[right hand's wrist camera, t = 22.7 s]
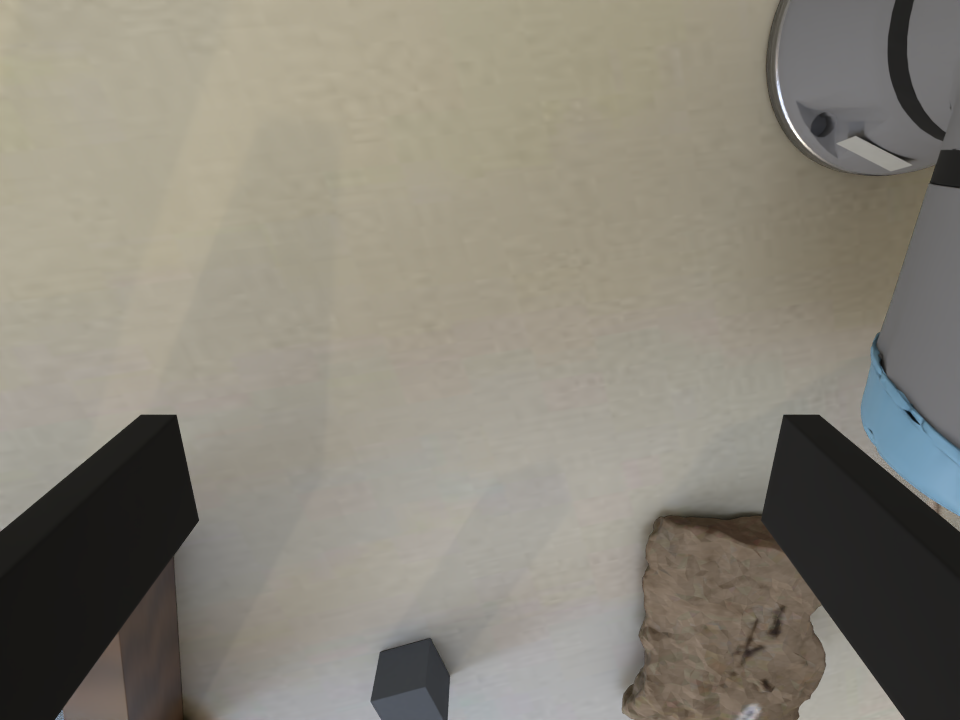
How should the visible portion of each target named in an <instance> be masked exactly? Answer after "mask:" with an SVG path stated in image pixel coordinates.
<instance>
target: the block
mask: <svg viewBox="0 0 960 720" xmlns="http://www.w3.org/2000/svg"><path fill="white" fill-rule="evenodd" d="M449 684H450V675H449V673H448V671H447V669H446V667H445V665H444V664H443V662H442V660H441V658H440V656H439V654H438V652H437V650H436V648H435V646H434V644H433V643H432V641H431V639H430V638H429V639H426V640H422V641H419V642H415V643H411V644H408V645H404V646H401V647H397V648H393V649H390V650H386V651H383V652H380V655H379V660H378V665H377V671H376V676H375V681H374V686H373V691H372V697H371V703H372V705H373V707H374V708H375V710H376V712H377V713H378V715H379V717H380V718H381V720H448V702H449Z"/></svg>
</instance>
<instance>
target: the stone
mask: <svg viewBox="0 0 960 720" xmlns="http://www.w3.org/2000/svg"><path fill="white" fill-rule="evenodd" d="M761 518H762V516H756V515H754V516H751V517H746V516H745V517H739V518H735V519H730V520H721V519H716V518H697V517H686V518H683V517H680V516H666V517H659V518H658V519H656V521H655V523H654V531H653V532H652V534H651V535H650V536H649V540H648V543H647V545H646V559H647V562H648V564H649V566H648V568H647V569H646V571H645V575H644V576H643V578H642V583H643V585H642V586H643V591H644V608H645V610H646V616H645V620H644V621H643V625H642V627H641V629H640V632H639V637H640V640H641V642H642V645H643V647H644V648H645V664H644V667H643V668H642V669H641V670H640V673H639V674H638V675H637V677H636V678H635V681H634V684H633V685H631V686H629V688H628V689H627V690H626V691H625V693H624V694H623V701H622V713H623V714H625V715H627V716H628V717H630V718H631V719H634V720H797V719H798V718H799V713H798V710H799V706H800V705H801V704H802V703H803V702H804V701H805V700H808V699H810V697H811V694H812V693H813V692H814V690H815V689H816V688H817V686H818V684H819V682H820V680H821V678H822V675H823V673H824V670H825V667H826V663H825V652H824V649H823V646H822V643H821V642H820V640H819V639H818V637H817V636H816V635H815V633H814V631H813V625H812V624H811V622H810V615H811V614H812V613H813V612H814V611H815V610H816V609H817V608H818V607H819V606H821V605H822V604H821V603H820V601H819V600H818V599H817V597H816V596H815V594H814V593H813V592H812V590H811V589H810V588H809V586H808V585H807V583H806V582H805V581H804V579H803V578H802V577H801V575H800V574H799V572H798V571H797V570H796V568H795V567H794V565H793V564H792V563H791V561H790V560H789V559H788V557H787V556H786V554H785V553H784V552H783V550H782V549H781V548H780V546H779V545H778V543H777V542H776V541H775V539H774V538H773V536H772V535H771V534H770V532H769V531H768V530H767V528H766V527H765V525H764V524H763V523H762V521H761Z"/></svg>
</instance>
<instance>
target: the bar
mask: <svg viewBox="0 0 960 720" xmlns="http://www.w3.org/2000/svg"><path fill="white" fill-rule="evenodd" d="M62 710H63V716H64V720H183V706H182V690H181V674H180V657H179V641H178V625H177V609H176V592H175V576H174V560H173V557H172V559H171V560H170V561H169V563H168V564H167V565H166V567H165V568H164V570H163V571H162V572H161V574H160V575H159V577H158V578H157V579H156V581H155V582H154V583H153V585H152V586H151V588H150V589H149V590H148V592H147V593H146V594H145V596H144V597H143V599H142V600H141V601H140V603H139V604H138V606H137V607H136V608H135V610H134V611H133V612H132V614H131V615H130V617H129V618H128V619H127V621H126V622H125V623H124V625H123V626H122V628H121V629H120V630H119V632H118V633H117V635H116V636H115V637H114V639H113V640H112V641H111V643H110V644H109V646H108V647H107V648H106V650H105V651H104V652H103V654H102V655H101V657H100V658H99V659H98V661H97V662H96V664H95V665H94V666H93V668H92V669H91V670H90V672H89V673H88V675H87V676H86V677H85V679H84V680H83V681H82V683H81V684H80V686H79V687H78V688H77V690H76V691H75V693H74V694H73V695H72V697H71V698H70V699H69V701H68V702H67V704H66V705H65V706H64V708H63V709H62Z"/></svg>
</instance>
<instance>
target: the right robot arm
mask: <svg viewBox="0 0 960 720" xmlns="http://www.w3.org/2000/svg"><path fill="white" fill-rule="evenodd" d="M766 71H767V84H768V90H769V96H770V100H771V104H772V107H773V110H774V112H775V115H776V118H777V120H778V122H779V124H780V126H781V128H782V129H783V131H784V132H785V134H786V135H787V137H788V138H789V139H790V141H791V142H792V143H793V144H794V145H795V146H796V147H797V148H798V149H799V150H800V151H801V152H802V153H803V154H805V155H806V156H807V157H809V158H810V159H812V160H813V161H815V162H817V163H819V164H820V165H823V166H825V167H827V168H830V169H833V170H836V171H840V172H845V173H851V174H859V175H870V176H885V175H895V174H901V173H907V172H913V171H917V170H921V169H924V168H927V167H930V166H933V165H936V166H935V169H934V172H933V175H932V179H931V181H930V183H929V185H928V188H927V191H926V194H925V197H924V200H923V203H922V206H921V210H920V213H919V216H918V219H917V222H916V225H915V228H914V231H913V234H912V238H911V241H910V244H909V247H908V250H907V253H906V256H905V259H904V262H903V266H902V269H901V272H900V275H899V278H898V281H897V284H896V287H895V290H894V294H893V297H892V300H891V303H890V306H889V309H888V311H887V314H886V317H885V320H884V323H883V326H882V329H881V332H879V333H877V335H876V337H875V339H874V341H873V344H872V347H871V366H870V371H869V375H868V379H867V383H866V387H865V391H864V394H863V398H862V403H861V419H862V423H863V427H864V429H865V431H866V433H867V435H868V437H869V439H870V440H871V442H872V443H873V444H874V445H875V446H876V448H877V451H878V453H879V454H880V455H881V457H882V458H883V459H884V460H885V461H886V462H887V463H888V464H889V465H890V466H891V467H892V468H893V469H894V470H895V471H896V472H897V473H898V474H899V475H900V476H901V477H903V478H904V479H905V480H906V481H908V482H909V483H910V484H911V485H912V486H914V487H915V488H916V489H918V490H919V491H920V492H922V493H923V494H925V495H926V496H927V497H929V498H930V499H932V500H934V501H935V502H937V503H938V504H940V505H942V506H943V507H945V508H946V509H948V510H950V511H951V512H953V513H955V514H957V515H958V516H960V0H780V3H779V6H778V8H777V11H776V13H775V17H774V20H773V24H772V27H771V32H770V37H769V42H768V50H767V66H766ZM198 521H199V518H198V513H197V509H196V504H195V499H194V495H193V490H192V485H191V481H190V476H189V471H188V466H187V462H186V457H185V452H184V448H183V443H182V438H181V434H180V429H179V424H178V420H177V415H140V416H139V417H138V418H137V419H135V420H134V421H133V422H132V423H131V424H129V425H128V426H127V427H126V428H125V429H123V430H122V431H121V432H120V433H119V434H117V435H116V436H115V437H114V438H112V439H111V440H110V441H109V442H108V443H106V444H105V445H104V446H103V447H102V448H100V449H99V450H98V451H97V452H96V453H94V454H93V455H92V456H91V457H90V458H88V459H87V460H86V461H85V462H84V463H82V464H81V465H80V466H79V467H78V468H76V469H75V470H74V471H73V472H72V473H70V474H69V475H68V476H67V477H66V478H64V479H63V480H62V481H61V482H60V483H58V484H57V485H56V486H55V487H54V488H52V489H51V490H50V491H49V492H48V493H46V494H45V495H44V496H43V497H42V498H40V499H39V500H38V501H37V502H36V503H34V504H33V505H32V506H31V507H30V508H28V509H27V510H26V511H25V512H24V513H22V514H21V515H20V516H19V517H18V518H16V519H15V520H14V521H13V522H12V523H10V524H9V525H8V526H7V527H6V528H4V529H3V530H2V531H1V532H0V720H55V719H56V717H57V716H58V715H59V713H60V712H61V710H62V709H63V708H64V706H65V705H66V704H67V702H68V701H69V699H70V698H71V697H72V695H73V694H74V693H75V691H76V690H77V688H78V687H79V686H80V684H81V683H82V681H83V680H84V679H85V677H86V676H87V675H88V673H89V672H90V670H91V669H92V668H93V666H94V665H95V664H96V662H97V661H98V659H99V658H100V657H101V655H102V654H103V652H104V651H105V650H106V648H107V647H108V646H109V644H110V643H111V641H112V640H113V639H114V637H115V636H116V635H117V633H118V632H119V630H120V629H121V628H122V626H123V625H124V623H125V622H126V621H127V619H128V618H129V617H130V615H131V614H132V612H133V611H134V610H135V608H136V607H137V606H138V604H139V603H140V601H141V600H142V599H143V597H144V596H145V594H146V593H147V592H148V590H149V589H150V588H151V586H152V585H153V583H154V582H155V581H156V579H157V578H158V577H159V575H160V574H161V572H162V571H163V570H164V568H165V567H166V565H167V564H168V563H169V561H170V560H171V559H172V557H173V556H174V554H175V553H176V552H177V550H178V549H179V548H180V546H181V545H182V543H183V542H184V541H185V539H186V538H187V536H188V535H189V534H190V532H191V531H192V530H193V528H194V527H195V525H196V524H197V523H198ZM761 521H762V523H763V524H764V525H765V527H766V528H767V530H768V531H769V532H770V534H771V535H772V536H773V538H774V539H775V541H776V542H777V543H778V545H779V546H780V548H781V549H782V550H783V552H784V553H785V554H786V556H787V557H788V559H789V560H790V561H791V563H792V564H793V565H794V567H795V568H796V570H797V571H798V572H799V574H800V575H801V577H802V578H803V579H804V581H805V582H806V583H807V585H808V586H809V588H810V589H811V590H812V592H813V593H814V594H815V596H816V597H817V599H818V600H819V601H820V603H821V604H822V606H823V607H824V608H825V610H826V611H827V612H828V614H829V615H830V617H831V618H832V619H833V621H834V622H835V623H836V625H837V626H838V628H839V629H840V630H841V632H842V633H843V635H844V636H845V637H846V639H847V640H848V641H849V643H850V644H851V646H852V647H853V648H854V650H855V651H856V652H857V654H858V655H859V657H860V658H861V659H862V661H863V662H864V664H865V665H866V666H867V668H868V669H869V670H870V672H871V673H872V675H873V676H874V677H875V679H876V680H877V681H878V683H879V684H880V686H881V687H882V688H883V690H884V691H885V693H886V694H887V695H888V697H889V698H890V699H891V701H892V702H893V704H894V705H895V706H896V708H897V709H898V710H899V712H900V713H901V715H902V716H903V717H904V719H905V720H960V532H959V531H958V530H957V529H956V528H954V527H953V526H952V525H951V524H950V523H948V522H947V521H946V520H945V519H944V518H942V517H941V516H940V515H939V514H938V513H936V512H935V511H934V510H933V509H932V508H930V507H929V506H928V505H927V504H926V503H924V502H923V501H922V500H921V499H920V498H918V497H917V496H916V495H915V494H914V493H912V492H911V491H910V490H909V489H908V488H906V487H905V486H904V485H903V484H902V483H900V482H899V481H898V480H897V479H896V478H894V477H893V476H892V475H891V474H890V473H888V472H887V471H886V470H885V469H884V468H882V467H881V466H880V465H879V464H878V463H876V462H875V461H874V460H873V459H872V458H870V457H869V456H868V455H867V454H866V453H864V452H863V451H862V450H861V449H860V448H858V447H857V446H856V445H855V444H854V443H852V442H851V441H850V440H849V439H848V438H846V437H845V436H844V435H843V434H841V433H840V432H839V431H838V430H837V429H835V428H834V427H833V426H832V425H831V424H829V423H828V422H827V421H826V420H825V419H823V418H822V417H821V416H820V415H783V420H782V424H781V429H780V434H779V438H778V443H777V448H776V452H775V457H774V462H773V466H772V471H771V476H770V481H769V485H768V490H767V495H766V499H765V504H764V509H763V513H762V518H761Z"/></svg>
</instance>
